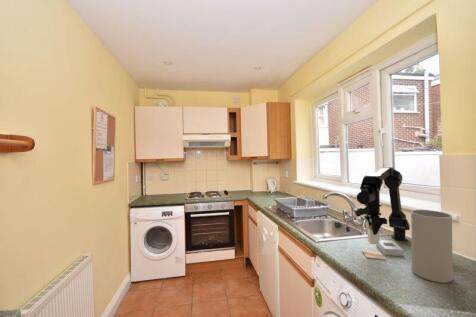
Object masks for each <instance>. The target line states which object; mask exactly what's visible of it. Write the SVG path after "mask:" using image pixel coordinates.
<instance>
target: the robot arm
mask: <svg viewBox="0 0 476 317" xmlns="http://www.w3.org/2000/svg"><path fill="white" fill-rule="evenodd" d="M402 182H403V175H402V173H401V172H400V171H398V170H396V169H395V168H394V167H392V166H381V167H380V168H379V170H377V171H376V172H373V173H369V174H366V175H364V176H363V178H362V181H361V183H360V187H359V190H360V191H359V192H358V193H357V194H356V200H357V202H358V203H359V204H361V205H359V206H356V207H352V210H353V212H354V213H353V214H354V215H355V216H356V217H361V216H363V218H364V219H365V220H366V221H367V225H372V230H373V234H374V235H376V234H377V232H378V231H379V232H380V229H381V227H382V226H383V225H388V226H389V228H392V230H393V234H391V236H390V237H391V238H393V239H394V240H395V241H404V242H406V241H407V242H408V241H409V238H407V236H406V231H410V228H411V227H410V225H411V224H410V223H409V221H408V219H407V215H406V214H405V213H404V212H403V210H402V203H401V202H402V201H401V195H400V186H401V185H402ZM383 184H384V185H385V186H386V187H387V188H388V193H389V200H390V208H391V213H390V214H389V216H388V219H387V218H386V217H385V216H384V215H382V212H381V207H382V204H381V203H380V201H381V198H380V197H381V196H380V195H381V194H380V192H381V189H382V186H383Z"/></svg>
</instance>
